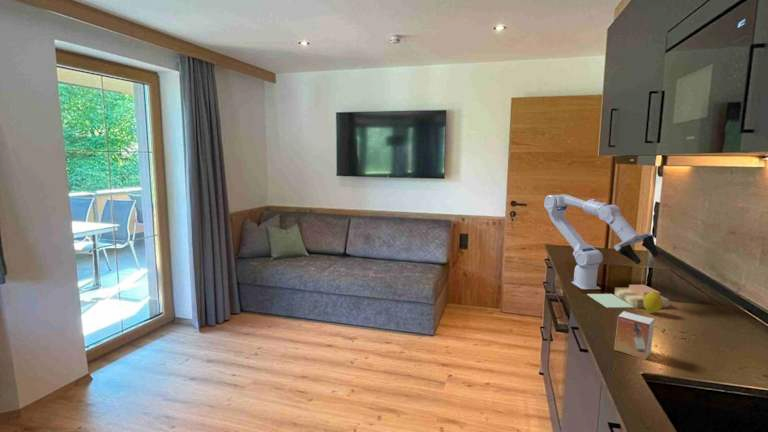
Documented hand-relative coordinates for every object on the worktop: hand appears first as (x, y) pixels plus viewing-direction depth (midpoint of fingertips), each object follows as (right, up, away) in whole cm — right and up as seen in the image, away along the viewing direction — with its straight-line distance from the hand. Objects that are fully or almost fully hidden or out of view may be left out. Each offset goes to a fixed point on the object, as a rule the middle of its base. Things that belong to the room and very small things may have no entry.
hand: (648, 259), depth 149 cm
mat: (-10, -17, +7) cm, 21 cm away
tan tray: (+2, -17, +7) cm, 18 cm away
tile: (+3, -14, +7) cm, 16 cm away
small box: (-26, -23, -33) cm, 48 cm away
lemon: (-2, -19, -5) cm, 19 cm away
